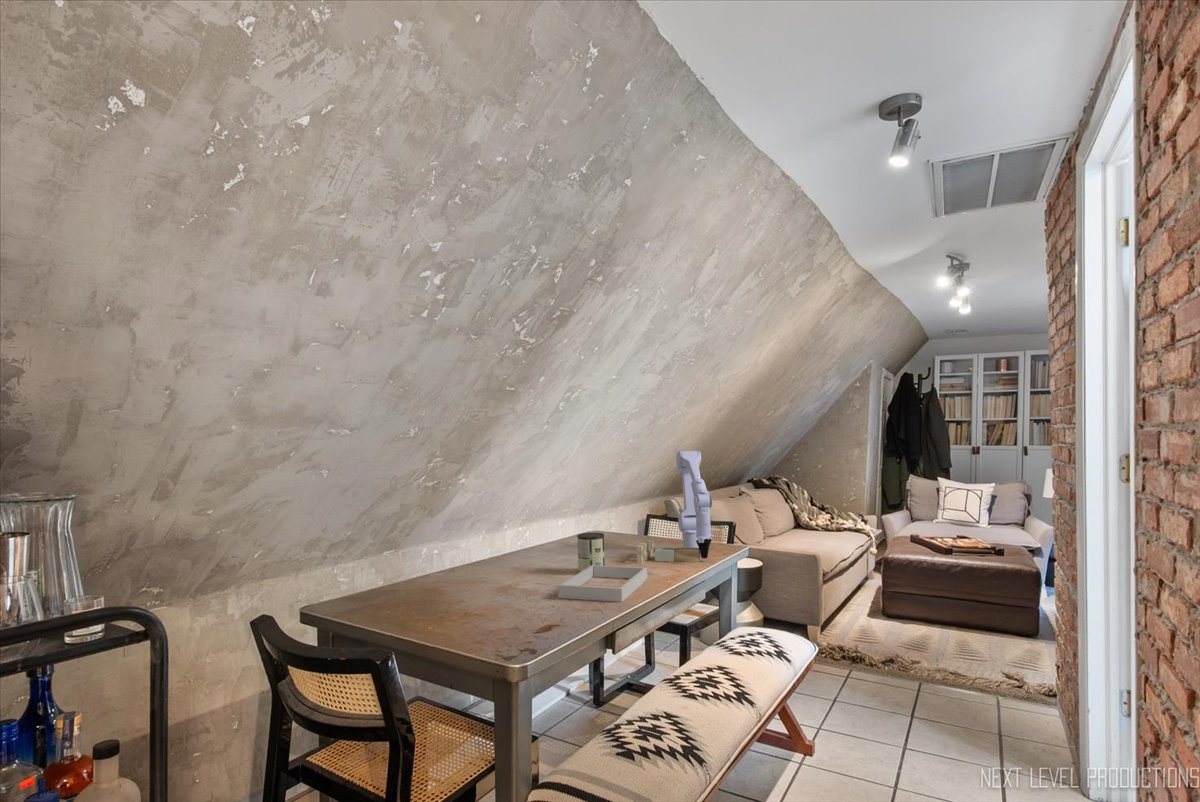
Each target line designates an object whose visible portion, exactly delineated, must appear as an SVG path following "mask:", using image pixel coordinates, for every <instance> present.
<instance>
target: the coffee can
mask: <svg viewBox="0 0 1200 802" xmlns="http://www.w3.org/2000/svg"><path fill="white" fill-rule="evenodd" d="M576 537H577V560H578V561H577V563H578V571H577V572H579V573H580V572H581V571H583V570H584V569H586V568H588V567H589V566H591V565H598V566H606V564H605V562H606V561H605V534H604V533H602V532H583V533H578V534H576Z"/></svg>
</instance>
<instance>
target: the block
mask: <svg viewBox="0 0 1200 802" xmlns="http://www.w3.org/2000/svg"><path fill="white" fill-rule="evenodd" d="M675 547H676V546H658V547H657V548H656V549H655V550H654V562H655V561H669V562H668V563H674V562H675V561H674V548H675Z"/></svg>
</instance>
